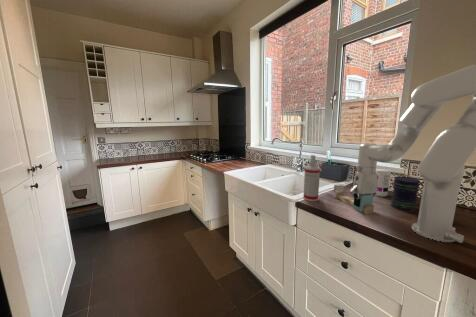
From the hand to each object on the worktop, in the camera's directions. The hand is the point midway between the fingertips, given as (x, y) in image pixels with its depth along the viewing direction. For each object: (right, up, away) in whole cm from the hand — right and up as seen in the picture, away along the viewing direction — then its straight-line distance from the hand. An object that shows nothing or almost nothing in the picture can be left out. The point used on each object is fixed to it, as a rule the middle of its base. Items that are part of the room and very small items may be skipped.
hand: (362, 204), depth 101 cm
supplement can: (+23, +1, +21) cm, 31 cm away
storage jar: (+22, -2, +3) cm, 22 cm away
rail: (-2, -1, +8) cm, 8 cm away
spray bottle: (-20, 0, +16) cm, 25 cm away
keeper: (0, -2, 0) cm, 2 cm away
